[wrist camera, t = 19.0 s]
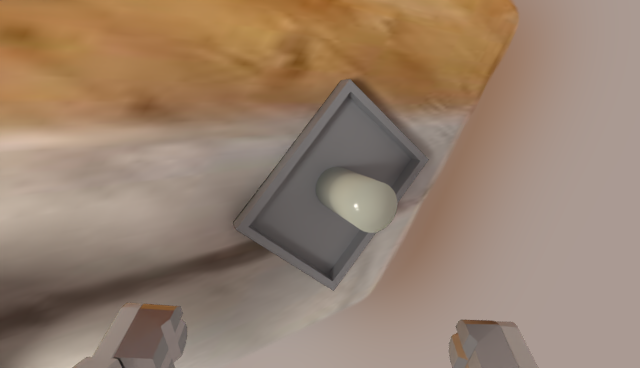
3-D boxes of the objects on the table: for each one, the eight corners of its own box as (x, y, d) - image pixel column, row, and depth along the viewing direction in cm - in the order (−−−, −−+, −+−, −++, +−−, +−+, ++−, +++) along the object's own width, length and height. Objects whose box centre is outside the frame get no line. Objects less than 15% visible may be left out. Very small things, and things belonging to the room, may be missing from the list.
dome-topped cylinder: (337, 215, 47) (376, 242, 38) (307, 192, 44) (341, 214, 35) (361, 182, 47) (406, 201, 38) (333, 158, 45) (373, 171, 36)
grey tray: (326, 282, 49) (333, 290, 47) (232, 222, 42) (236, 229, 40) (417, 157, 50) (428, 159, 48) (341, 80, 44) (349, 79, 41)
